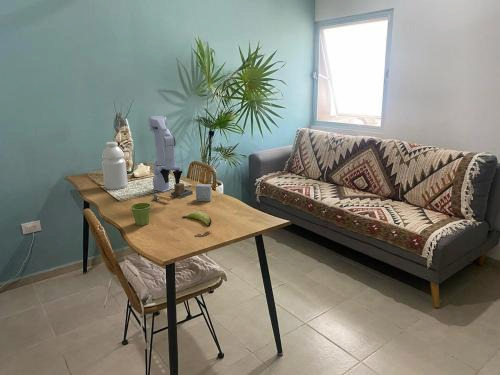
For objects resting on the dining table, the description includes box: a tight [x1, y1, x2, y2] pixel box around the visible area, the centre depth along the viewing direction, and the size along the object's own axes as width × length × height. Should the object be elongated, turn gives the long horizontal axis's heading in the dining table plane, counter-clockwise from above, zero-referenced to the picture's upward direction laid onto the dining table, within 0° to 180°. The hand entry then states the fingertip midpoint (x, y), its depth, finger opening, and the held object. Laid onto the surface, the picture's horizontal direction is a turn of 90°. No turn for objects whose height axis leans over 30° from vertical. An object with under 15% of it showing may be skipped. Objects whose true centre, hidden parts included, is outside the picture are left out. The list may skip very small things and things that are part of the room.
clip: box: [153, 193, 172, 202], centre depth 205 cm, size 12×2×2 cm, turn 56°
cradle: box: [170, 188, 194, 199], centre depth 216 cm, size 8×10×2 cm
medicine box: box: [195, 183, 213, 202], centre depth 206 cm, size 8×4×9 cm, turn 84°
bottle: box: [100, 141, 129, 191], centre depth 228 cm, size 14×14×28 cm
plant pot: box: [129, 202, 152, 226], centre depth 173 cm, size 9×9×9 cm
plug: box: [173, 182, 185, 198], centre depth 214 cm, size 4×4×7 cm
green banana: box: [181, 209, 213, 238], centre depth 177 cm, size 35×27×4 cm
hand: (172, 183), depth 203 cm, fingers open, 7 cm apart
